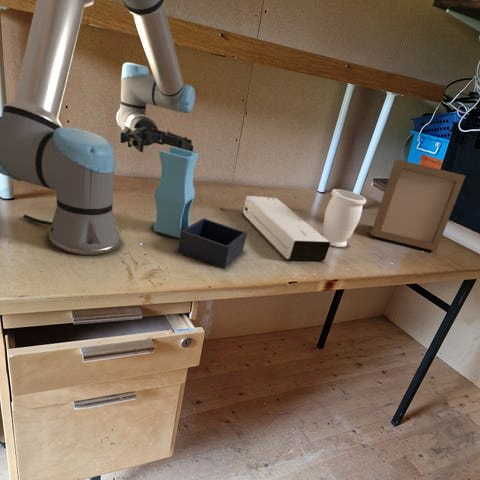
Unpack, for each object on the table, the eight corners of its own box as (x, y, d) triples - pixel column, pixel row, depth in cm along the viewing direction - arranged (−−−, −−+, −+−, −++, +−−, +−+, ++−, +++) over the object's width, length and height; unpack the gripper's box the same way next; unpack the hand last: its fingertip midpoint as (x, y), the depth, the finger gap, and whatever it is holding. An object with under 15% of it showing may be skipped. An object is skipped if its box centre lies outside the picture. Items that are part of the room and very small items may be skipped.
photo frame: (434, 253, 139) (471, 179, 126) (372, 238, 140) (401, 162, 126) (424, 238, 152) (456, 169, 138) (367, 224, 152) (393, 154, 139)
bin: (178, 252, 101) (180, 231, 98) (200, 237, 112) (203, 217, 109) (224, 268, 99) (228, 247, 96) (242, 252, 109) (247, 232, 106)
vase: (163, 221, 115) (170, 146, 104) (189, 228, 114) (200, 153, 103) (151, 230, 108) (158, 150, 97) (180, 238, 107) (190, 159, 97)
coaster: (147, 230, 108) (147, 229, 108) (164, 221, 116) (164, 220, 116) (177, 241, 107) (178, 239, 106) (193, 231, 114) (193, 230, 114)
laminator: (323, 262, 114) (330, 242, 110) (285, 262, 109) (291, 240, 105) (272, 215, 139) (276, 197, 136) (239, 213, 134) (242, 195, 130)
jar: (311, 234, 131) (325, 187, 123) (338, 235, 135) (353, 190, 127) (327, 248, 123) (344, 199, 115) (355, 249, 127) (373, 202, 119)
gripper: (179, 146, 130) (208, 166, 115) (98, 138, 118) (118, 160, 103) (182, 121, 126) (212, 138, 111) (98, 109, 114) (120, 127, 99)
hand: (167, 149), depth 107 cm, fingers open, 13 cm apart
